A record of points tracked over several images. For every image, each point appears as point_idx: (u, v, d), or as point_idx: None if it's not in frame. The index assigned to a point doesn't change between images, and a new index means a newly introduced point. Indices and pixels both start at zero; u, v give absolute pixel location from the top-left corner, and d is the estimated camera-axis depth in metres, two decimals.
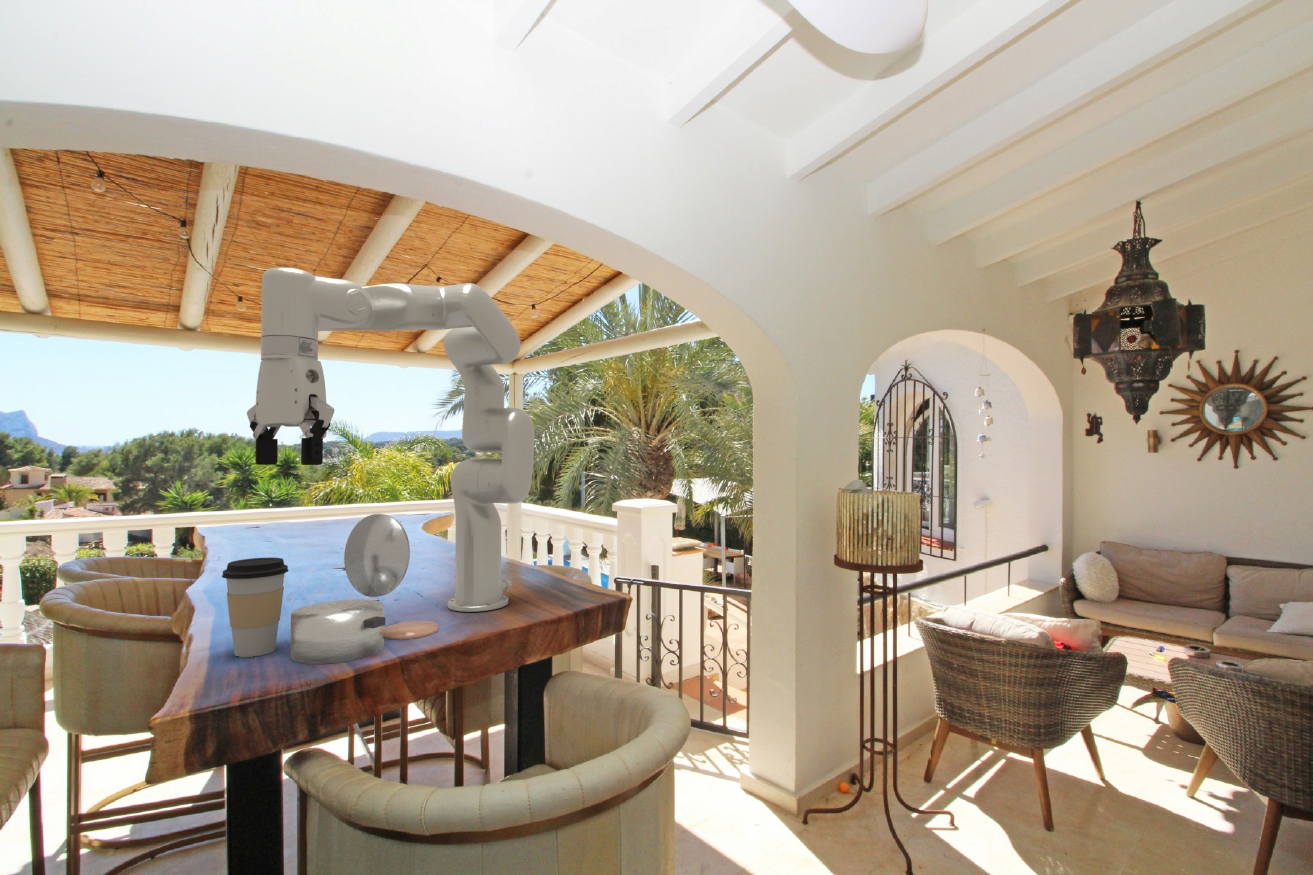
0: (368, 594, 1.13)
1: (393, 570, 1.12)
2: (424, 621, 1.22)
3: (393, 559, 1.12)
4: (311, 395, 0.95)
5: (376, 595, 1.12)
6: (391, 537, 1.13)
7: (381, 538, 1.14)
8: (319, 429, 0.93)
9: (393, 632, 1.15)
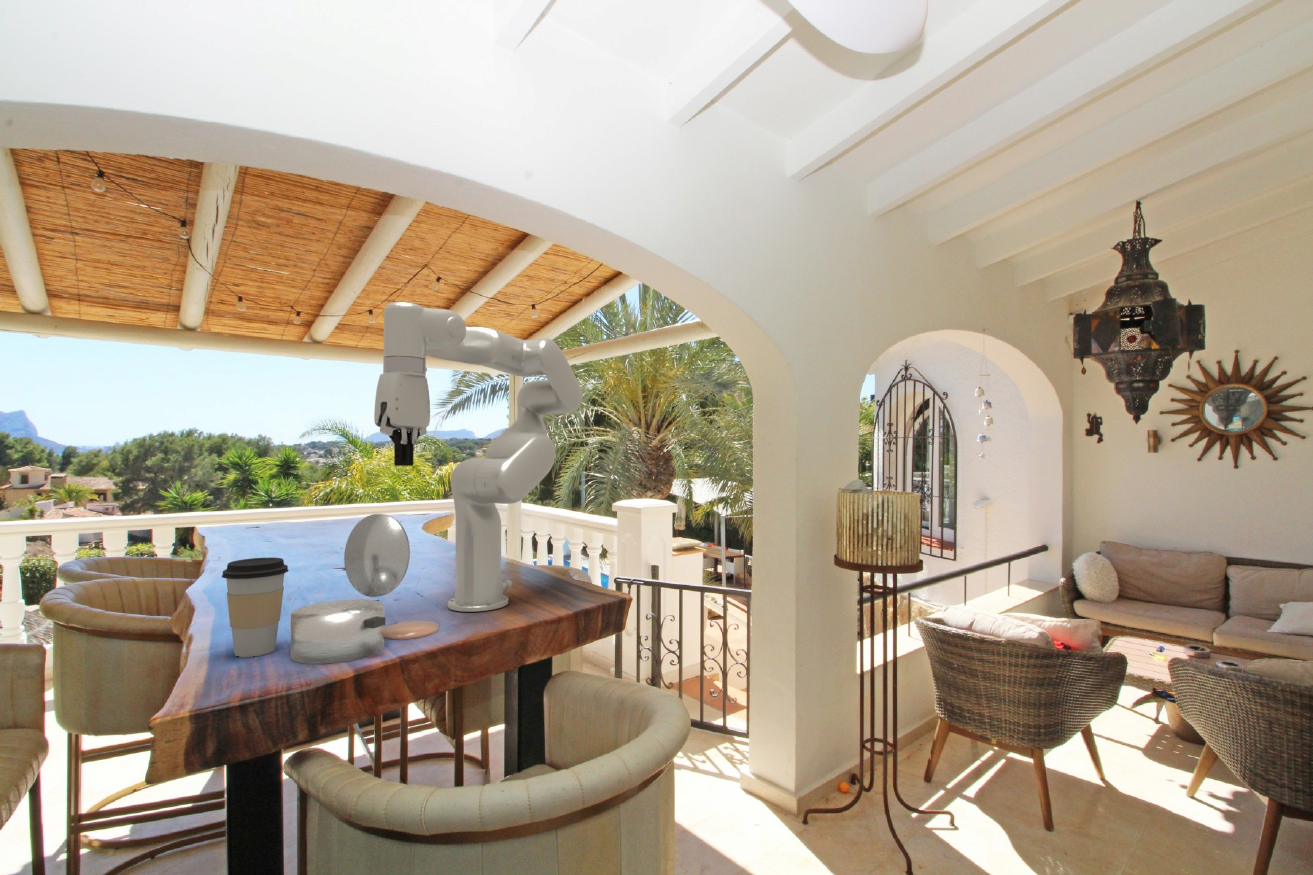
0: (368, 594, 1.13)
1: (393, 570, 1.12)
2: (424, 621, 1.22)
3: (393, 559, 1.12)
4: None
5: (376, 595, 1.12)
6: (391, 537, 1.13)
7: (381, 538, 1.14)
8: None
9: (393, 632, 1.15)
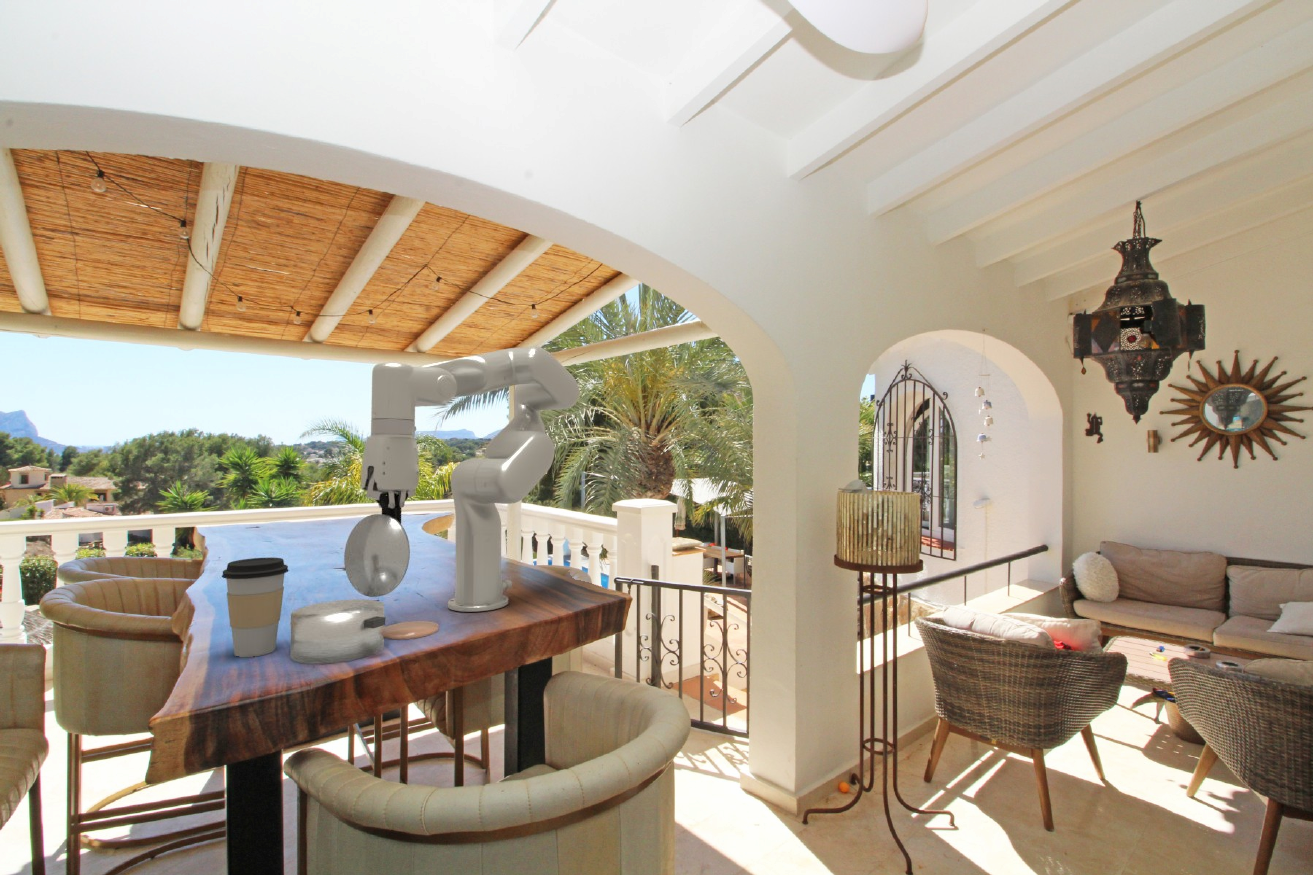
0: (368, 594, 1.13)
1: (393, 570, 1.12)
2: (424, 621, 1.22)
3: (393, 559, 1.12)
4: None
5: (376, 595, 1.12)
6: (391, 537, 1.13)
7: (381, 538, 1.14)
8: None
9: (393, 632, 1.15)
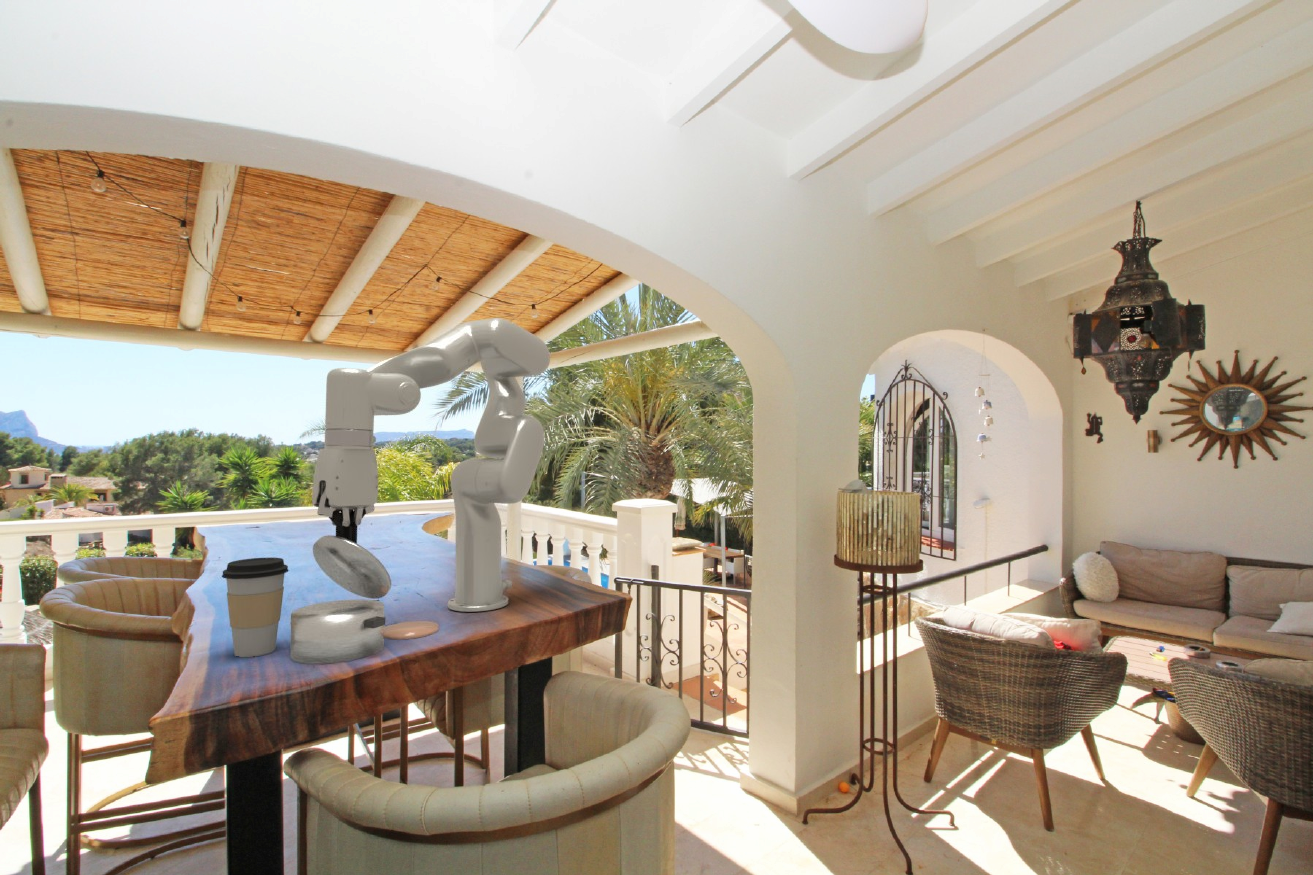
0: (367, 596, 1.13)
1: (377, 581, 1.09)
2: (424, 621, 1.22)
3: (371, 573, 1.08)
4: None
5: (375, 597, 1.12)
6: (356, 557, 1.06)
7: (347, 557, 1.07)
8: (361, 516, 1.11)
9: (393, 632, 1.15)
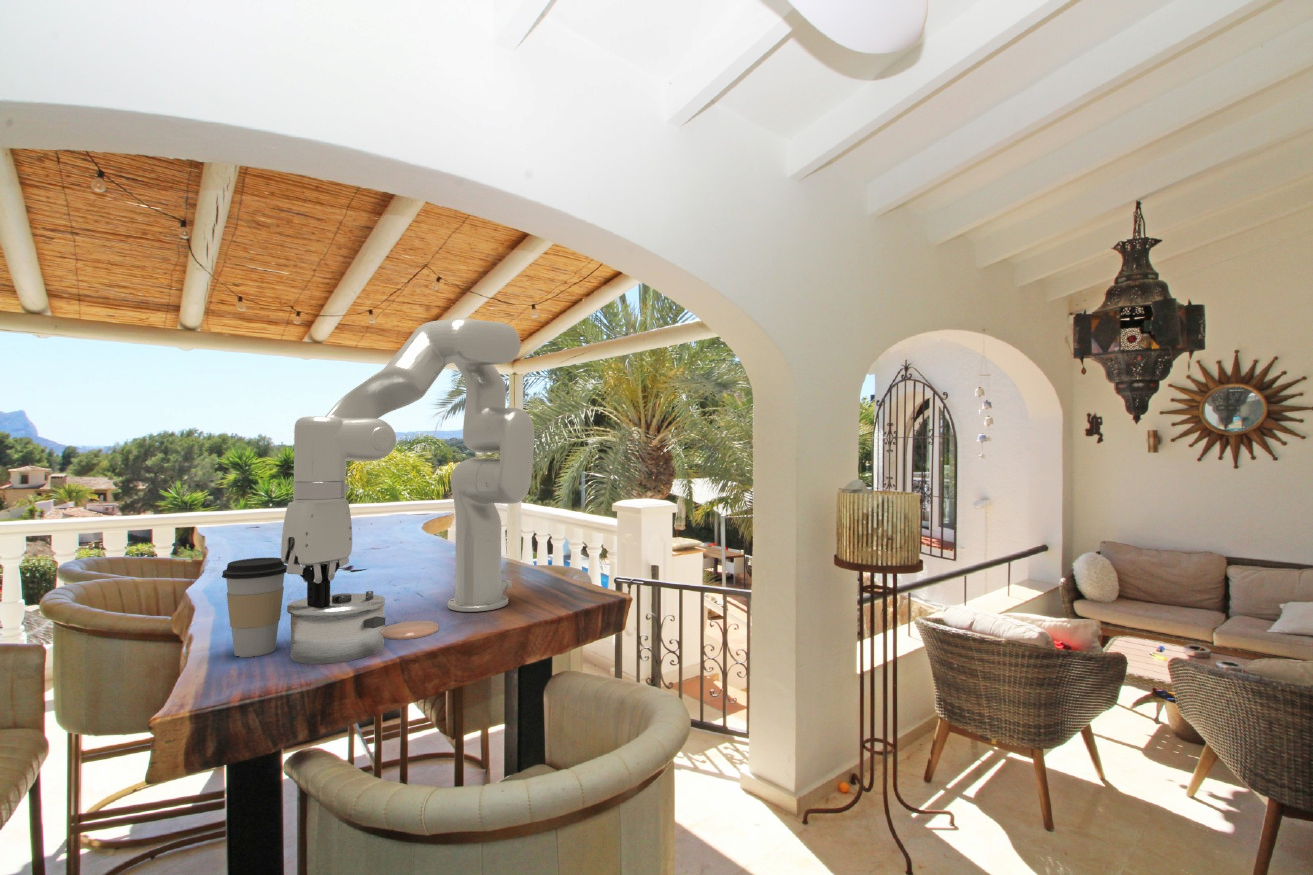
0: None
1: None
2: (424, 621, 1.22)
3: None
4: None
5: None
6: None
7: None
8: (334, 570, 1.06)
9: (393, 632, 1.15)
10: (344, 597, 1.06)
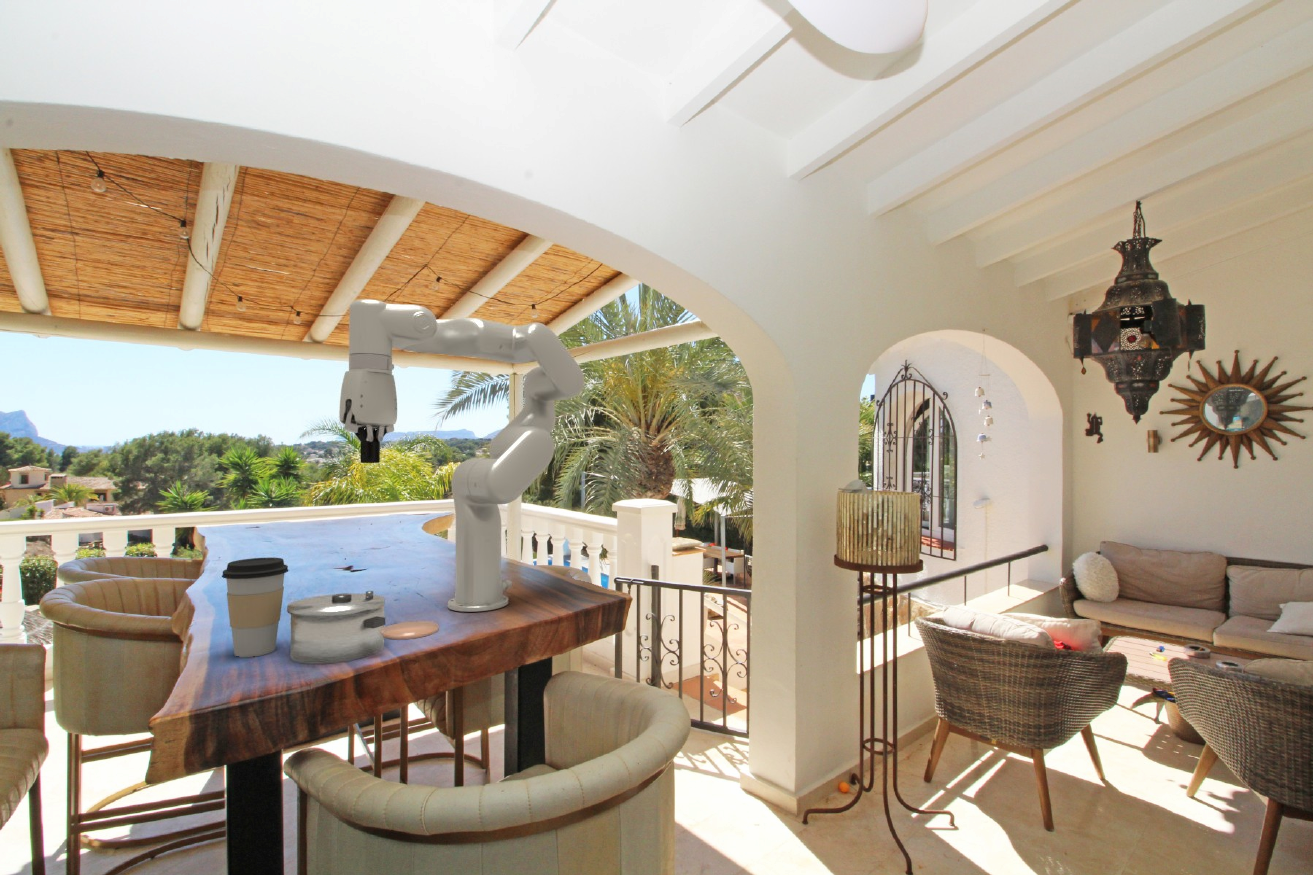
0: None
1: None
2: (424, 621, 1.22)
3: None
4: None
5: None
6: None
7: None
8: (383, 435, 1.23)
9: (393, 632, 1.15)
10: (344, 597, 1.06)
